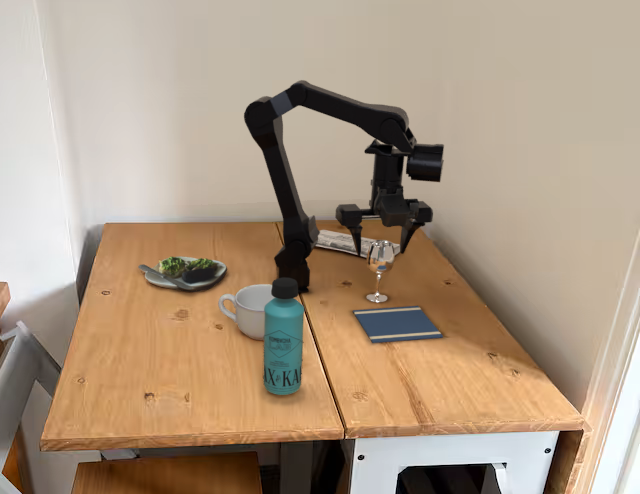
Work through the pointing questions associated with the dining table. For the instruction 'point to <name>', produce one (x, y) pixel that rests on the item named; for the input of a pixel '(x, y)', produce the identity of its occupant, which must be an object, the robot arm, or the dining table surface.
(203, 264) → the salad plate
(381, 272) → the wineglass
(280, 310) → the beverage bottle
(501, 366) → the dining table surface
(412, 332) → the napkin
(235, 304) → the teacup
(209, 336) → the dining table surface
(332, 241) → the newspaper
